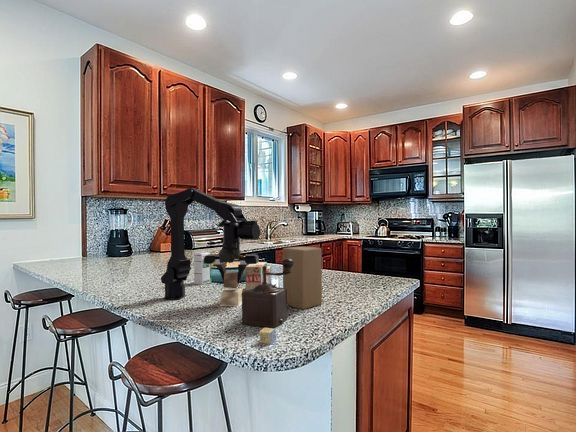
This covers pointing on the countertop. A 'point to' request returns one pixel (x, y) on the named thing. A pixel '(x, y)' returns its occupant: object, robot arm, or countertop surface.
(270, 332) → the alphabet block
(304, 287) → the wooden block
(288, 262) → the manual coffee grinder
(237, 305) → the building mat
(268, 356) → the countertop surface
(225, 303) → the maple base block
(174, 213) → the robot arm
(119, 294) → the countertop surface
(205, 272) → the syrup box
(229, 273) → the brown block
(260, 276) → the stack of blocks
